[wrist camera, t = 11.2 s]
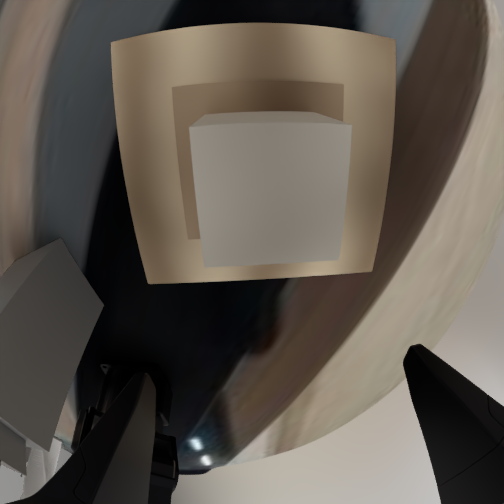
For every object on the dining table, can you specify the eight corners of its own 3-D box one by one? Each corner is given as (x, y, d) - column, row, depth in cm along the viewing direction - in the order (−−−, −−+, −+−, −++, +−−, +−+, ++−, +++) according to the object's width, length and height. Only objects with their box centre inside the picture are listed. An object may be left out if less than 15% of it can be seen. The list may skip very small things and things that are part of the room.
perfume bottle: (61, 237, 19) (-69, 450, 3) (104, 305, 22) (35, 514, 7) (14, 261, 19) (-89, 426, 4) (54, 318, 23) (-14, 485, 7)
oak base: (158, 257, 20) (147, 285, 17) (130, 48, 13) (109, 41, 10) (356, 247, 20) (372, 273, 18) (371, 44, 13) (397, 39, 10)
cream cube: (213, 212, 15) (204, 267, 11) (205, 114, 12) (189, 127, 8) (309, 208, 15) (338, 260, 11) (313, 111, 13) (351, 124, 8)
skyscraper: (34, 423, 38) (8, 535, 14) (68, 441, 41) (48, 552, 17) (30, 430, 41) (7, 529, 17) (60, 446, 44) (42, 545, 20)
